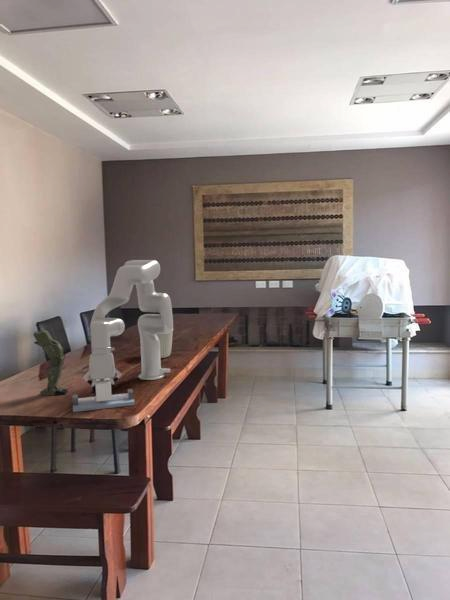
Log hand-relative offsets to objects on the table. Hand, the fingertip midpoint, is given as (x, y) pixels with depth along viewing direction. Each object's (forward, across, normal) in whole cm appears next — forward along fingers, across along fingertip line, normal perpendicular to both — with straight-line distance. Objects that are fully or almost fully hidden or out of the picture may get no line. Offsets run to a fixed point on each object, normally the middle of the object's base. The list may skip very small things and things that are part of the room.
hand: (103, 393), depth 196 cm
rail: (+3, 0, 0) cm, 3 cm away
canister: (+5, -37, -82) cm, 90 cm away
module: (+2, 0, 0) cm, 2 cm away
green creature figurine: (+5, +21, -24) cm, 32 cm away
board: (+4, 0, 0) cm, 4 cm away
